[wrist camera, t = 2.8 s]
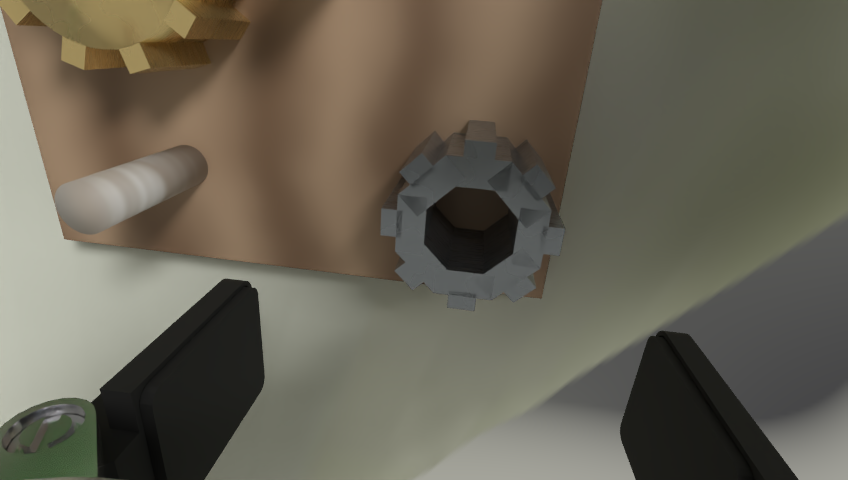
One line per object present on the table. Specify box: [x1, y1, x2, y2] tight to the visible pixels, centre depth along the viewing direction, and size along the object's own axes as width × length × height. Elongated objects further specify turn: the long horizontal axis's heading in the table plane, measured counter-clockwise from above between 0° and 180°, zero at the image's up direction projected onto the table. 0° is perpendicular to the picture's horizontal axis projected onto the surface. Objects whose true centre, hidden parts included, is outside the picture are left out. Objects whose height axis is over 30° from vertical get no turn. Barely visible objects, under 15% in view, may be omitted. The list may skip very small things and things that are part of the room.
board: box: [0, 0, 602, 298], centre depth 18 cm, size 26×20×8 cm
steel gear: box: [380, 120, 565, 311], centre depth 19 cm, size 7×7×4 cm
